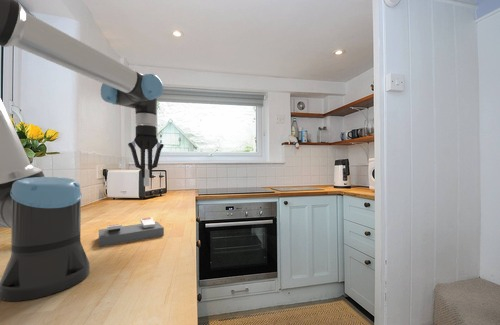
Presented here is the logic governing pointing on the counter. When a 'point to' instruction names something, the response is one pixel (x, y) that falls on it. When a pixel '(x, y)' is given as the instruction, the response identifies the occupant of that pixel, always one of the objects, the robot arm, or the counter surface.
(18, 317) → the counter surface
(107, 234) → the power strip
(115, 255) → the counter surface
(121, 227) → the left rocker
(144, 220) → the right rocker
